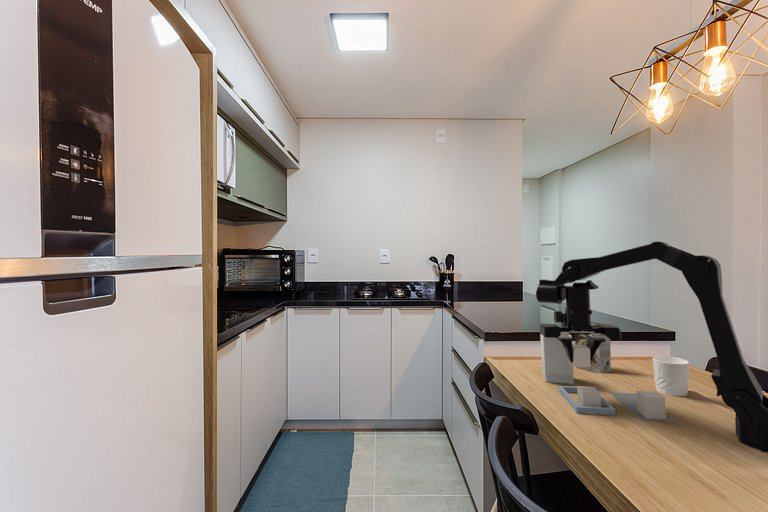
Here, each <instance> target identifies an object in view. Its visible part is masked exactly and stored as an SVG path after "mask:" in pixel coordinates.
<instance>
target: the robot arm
mask: <svg viewBox="0 0 768 512" xmlns="http://www.w3.org/2000/svg"><path fill="white" fill-rule="evenodd" d="M652 260H658V261H660V262H661V263H664V264H666V265H668V266H670V267H671V268H674V269H676V270H678V271H681V273H682V275H683V277H684V279H685V280H686V282H687V284H688V286H689V288H690V289H691V290H692V292H693V293H694V294H695V296H696V298H697V299H698V301H699V305H700V308H701V311H702V313H703V317H704V320H705V323H706V326H707V329H708V333H709V337H710V339H711V343H712V345H713V348H714V352H715V355H716V357H717V360H718V363H719V365H718V366H719V369H714V370H713V372H712V374H711V379H712V381H713V383H714V385H715V388H716V396H717V397H720V396H721V400H722V401H723V402H724V404H725V405H726V406H727V407H729V408H730V409H732V410H733V411H734V413H735V423H734V424H735V425H734V426H735V435H736V437H737V440H738V442H740V443H741V444H743V445H744V446H747V447H750V448H752V449H755V450H758V451H760V452H762V453H768V396H766V394H764V390H763V388H762V387H761V384H760V383H759V382H758V380H757V378H756V376H755V374H754V373H753V371H752V370H751V368H750V367H749V365H748V364H747V363H746V361H745V359H744V356H743V354H742V350H741V348H740V344H739V341H738V338H737V335H736V332H735V329H734V326H733V323H732V320H731V317H730V315H729V311H728V308H727V305H726V302H725V299H724V296H723V278H722V277H723V276H722V267H721V263H720V262H719V261H718V260H717V259H716V258H714V257H712V256H710V255H695V254H692V253H690V252H688V251H685V250H682V249H681V248H680V249H679V248H676V247H674V246H672V245H670V244H668V243H666V242H665V241H653V242H650V243H647V244H644V245H640V246H637V247H633V248H629V249H625V250H620V251H616V252H614V253H609V254H605V255H601V256H597V257H585V258H575V259H568V260H566V261H565V262H563V265H562V267H561V272H560V273H559V274H558V276H557V278H556V279H554V280H553V279H552V280H549V279H539V283H538V285H537V288H536V291H535V297H536V301H537V302H538V303H544V304H555V305H557V304H558V305H562V303H563V301H565V308H564V313H563V311H562V310H561V311H559V310H557V311H554V312H553V319H554V320H553V321H554V322H553V323H541V325H540V326H539V333H540V334H542V335H543V336H544V337H547V338H557V339H558V340H560V341H561V342H562V344H563V346H564V348H565V351H566V353H567V356H568V358H569V361H570V362H571V363H573V349H572V345H573V338H572V339H570V338H569V335H575V334H588V335H586V339H587V347H589V348H590V360H592V358H593V356H594V354H595V352H596V350H597V349H598V347H599V346H600V344H601V343H602V342H605V341H606V340H605V339H603V336H604V335H605V336H606V337H608V338H609V339H610V340H614V339H615V340H616V339H617V340H620V339H622V331H621V329H620V328H619V327H618V326H615V325H613V324H608V323H607V324H606V323H601V324H597V326H596V328H592V326H591V322H592V321H591V315H592V314H593V310H592V309H591V298H590V297H591V296H590V295H591V294H590V290H598V289H599V286H598V285H597V284H595V282H594V281H592V279H590V280H589V278H592V277H594V276H597V275H598V274H601V273H603V272H606V271H609V270H613V269H617V268H622V267H627V266H630V265H634V264H639V263H644V262H649V261H652ZM587 279H588V280H587ZM583 280H587V281H586V282H577V281H583ZM566 284H572V285H566ZM557 324H560V325H561V326H559V325H557ZM540 334H539V335H540Z"/></svg>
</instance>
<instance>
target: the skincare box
mask: <svg viewBox="0 0 768 512" xmlns="http://www.w3.org/2000/svg"><path fill="white" fill-rule="evenodd" d="M539 335H540V336H539V337H540V353H541V354H540V356H541V358H540V359H541V372H542V375H541V376H542V378H543V380H544V381H545V383H552V384H553V383H554V384H555V383H556V384H571V385H572V384H575V377H574V374H575V373H574V366H573V365H572V364H571V363H569V358H568V356H567V353H566V351H565V348H564V346H563V344H562V342H561V341H560V340H558V339H557V338H547V337H544V336H543V335H542V334H539ZM569 338H570V339H572V340H573V336H572V334H569Z"/></svg>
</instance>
